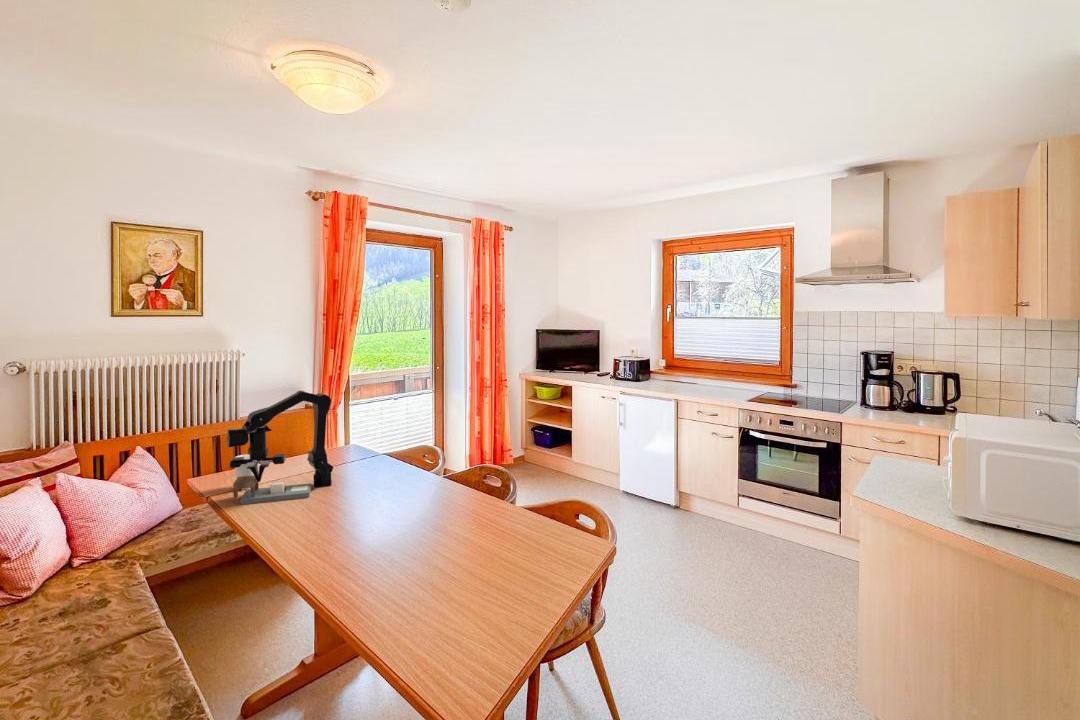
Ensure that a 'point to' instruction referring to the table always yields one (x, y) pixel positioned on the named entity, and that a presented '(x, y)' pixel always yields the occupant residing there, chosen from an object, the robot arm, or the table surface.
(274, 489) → the block
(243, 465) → the foam cup
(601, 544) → the table surface
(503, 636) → the table surface
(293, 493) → the board
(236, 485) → the slide cover
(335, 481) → the table surface
